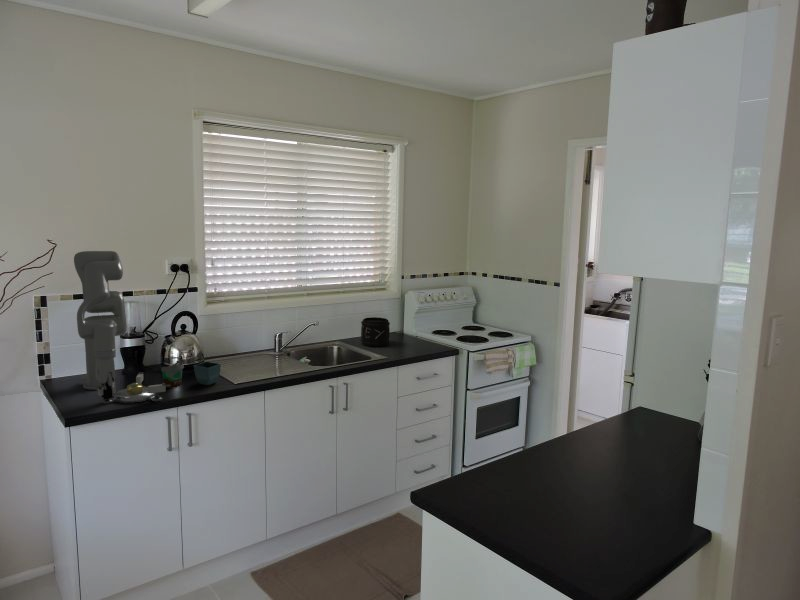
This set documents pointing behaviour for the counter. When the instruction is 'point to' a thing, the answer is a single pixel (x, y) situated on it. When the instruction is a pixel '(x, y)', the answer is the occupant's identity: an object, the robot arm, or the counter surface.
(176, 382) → the food container
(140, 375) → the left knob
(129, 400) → the levelling plate
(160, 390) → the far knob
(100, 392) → the near knob
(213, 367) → the flower pot
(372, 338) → the black canister
